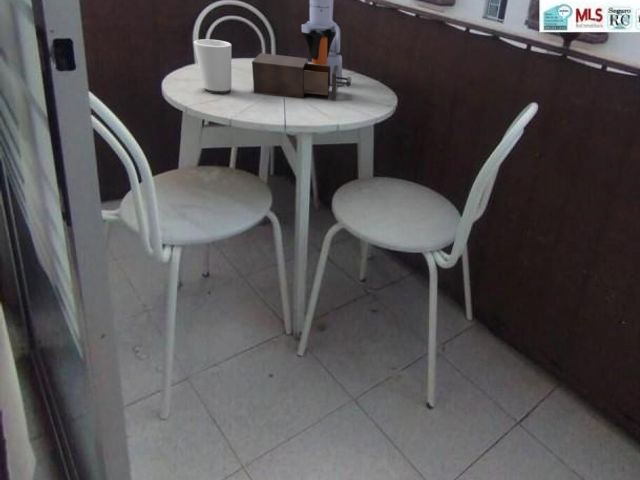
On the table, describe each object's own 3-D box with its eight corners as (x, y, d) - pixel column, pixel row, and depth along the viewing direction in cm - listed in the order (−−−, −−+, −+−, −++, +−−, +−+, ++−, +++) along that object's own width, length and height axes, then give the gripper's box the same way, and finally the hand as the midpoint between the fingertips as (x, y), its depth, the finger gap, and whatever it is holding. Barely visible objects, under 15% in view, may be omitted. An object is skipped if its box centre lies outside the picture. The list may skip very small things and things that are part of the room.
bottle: (329, 63, 156) (330, 32, 152) (323, 65, 153) (323, 34, 148) (315, 60, 157) (315, 30, 152) (309, 62, 154) (308, 31, 149)
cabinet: (308, 87, 165) (307, 58, 160) (303, 98, 154) (302, 67, 149) (262, 82, 163) (260, 52, 158) (254, 92, 152) (251, 61, 147)
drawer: (351, 89, 166) (352, 67, 162) (349, 99, 156) (350, 75, 152) (295, 83, 164) (295, 60, 160) (290, 93, 154) (290, 68, 150)
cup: (193, 91, 146) (186, 42, 138) (210, 84, 154) (205, 37, 146) (225, 97, 145) (220, 48, 137) (241, 90, 153) (237, 43, 145)
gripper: (323, 3, 153) (322, 53, 161) (292, 4, 142) (293, 57, 150) (342, 7, 151) (341, 57, 159) (313, 9, 140) (313, 62, 148)
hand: (319, 58), depth 154 cm, fingers closed on bottle, 4 cm apart
